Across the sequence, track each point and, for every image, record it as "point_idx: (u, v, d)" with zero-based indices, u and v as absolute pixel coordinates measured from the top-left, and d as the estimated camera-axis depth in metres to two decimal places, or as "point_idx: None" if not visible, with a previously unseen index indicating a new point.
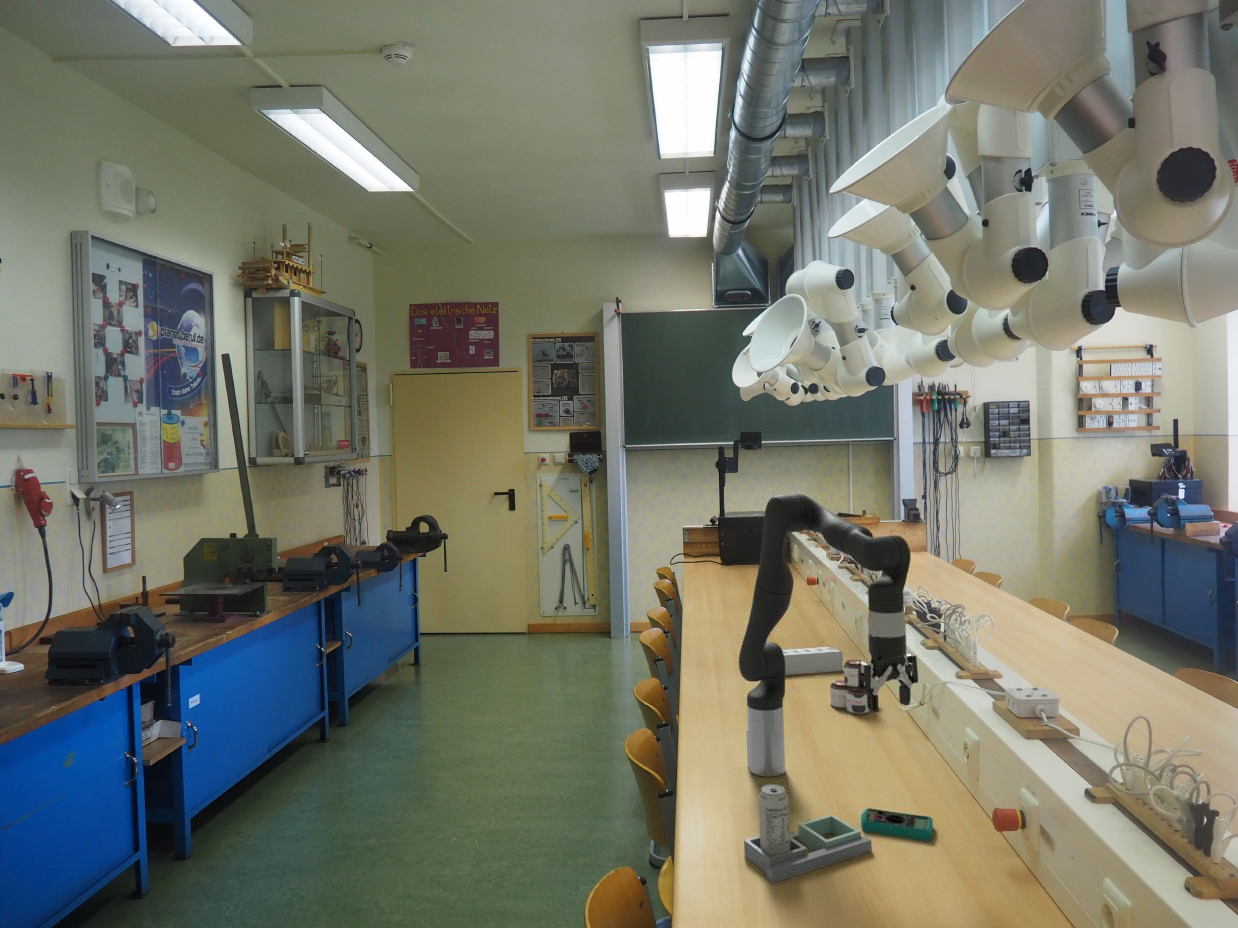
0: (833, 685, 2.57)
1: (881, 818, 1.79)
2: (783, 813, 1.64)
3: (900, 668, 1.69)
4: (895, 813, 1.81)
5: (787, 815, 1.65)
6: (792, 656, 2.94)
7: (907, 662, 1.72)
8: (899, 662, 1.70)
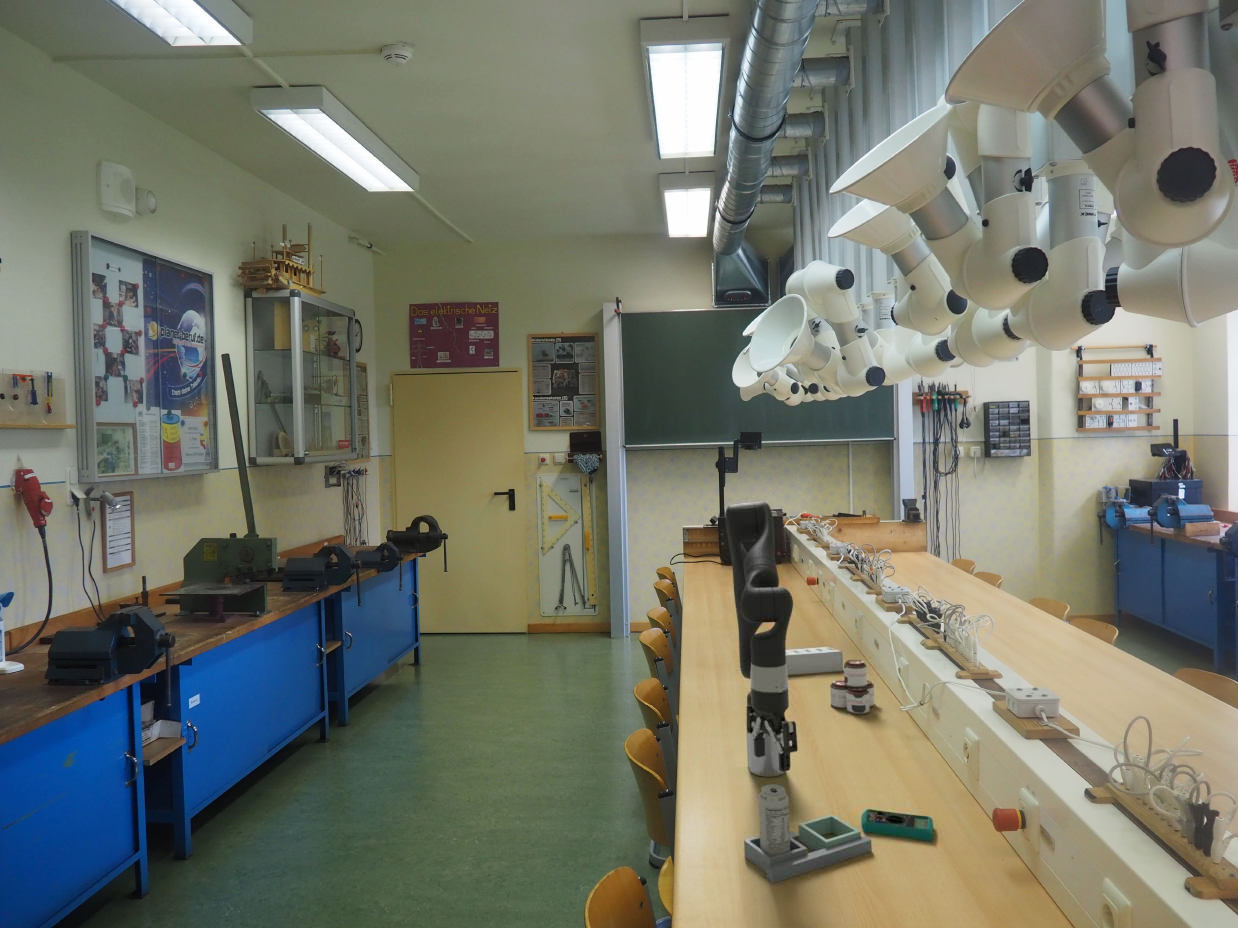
0: (833, 685, 2.57)
1: (881, 819, 1.78)
2: (783, 813, 1.64)
3: None
4: (895, 813, 1.81)
5: (787, 815, 1.65)
6: (792, 656, 2.94)
7: None
8: None
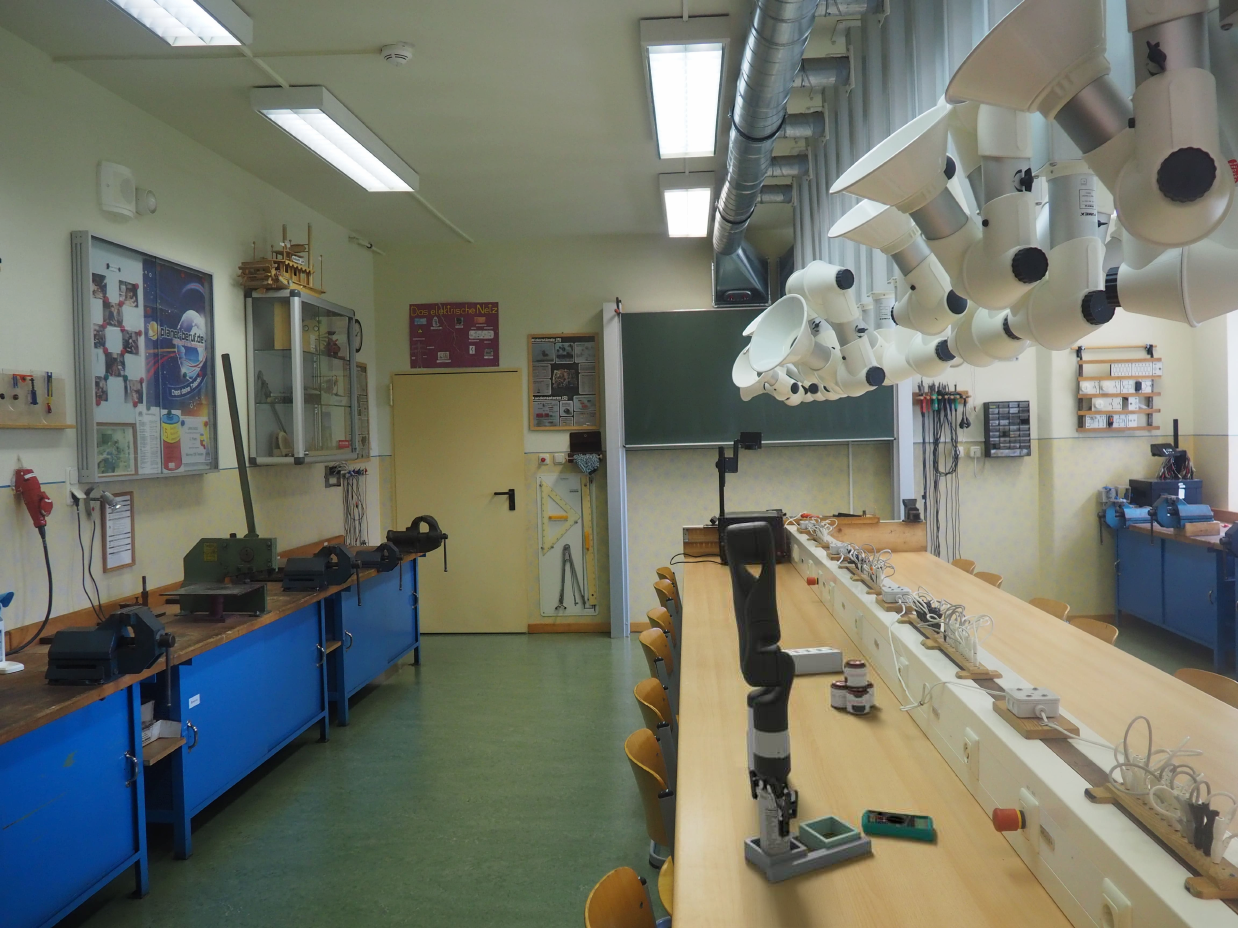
0: (833, 685, 2.57)
1: (882, 819, 1.78)
2: None
3: None
4: (895, 814, 1.80)
5: None
6: (792, 656, 2.94)
7: None
8: None
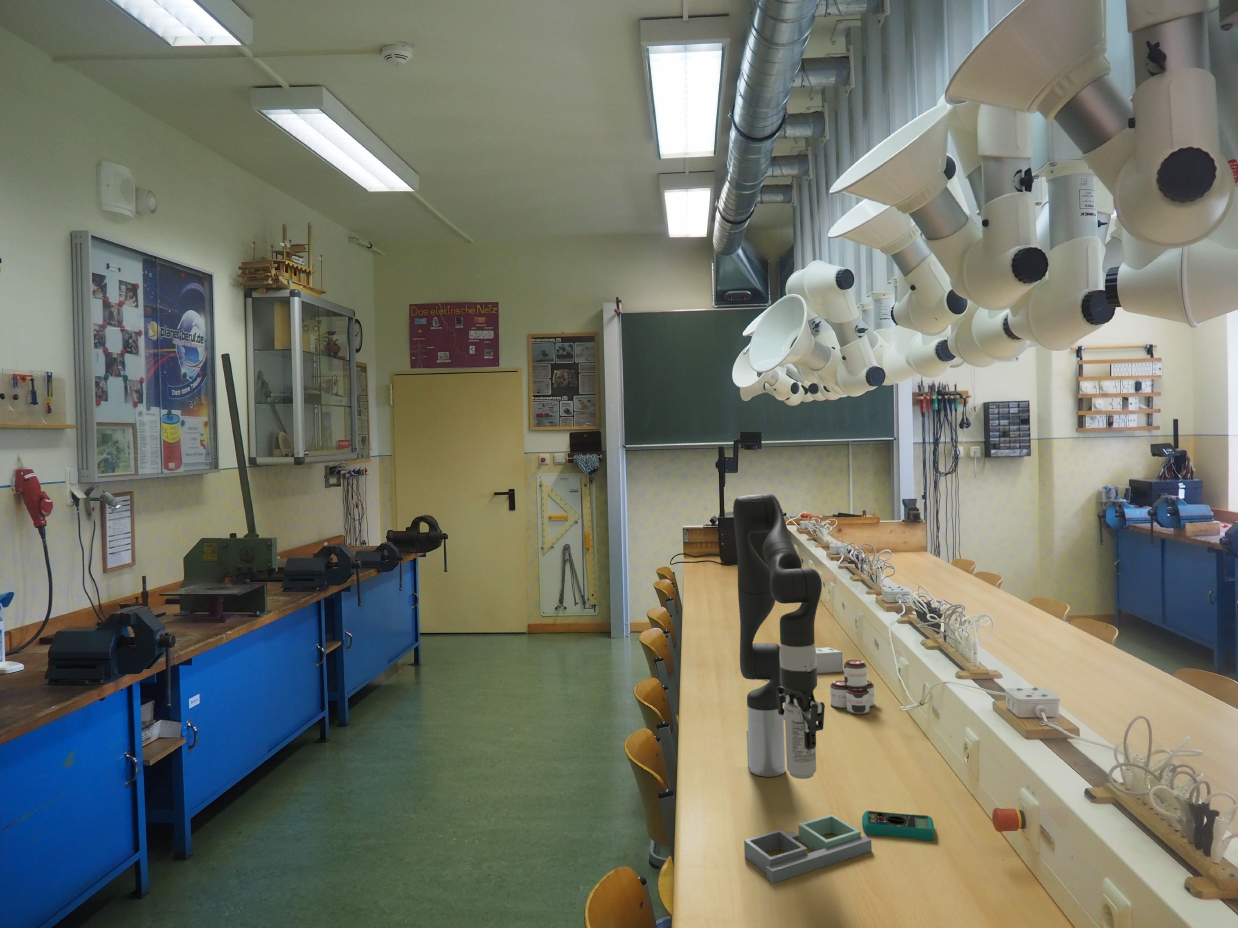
0: (833, 685, 2.57)
1: (882, 820, 1.78)
2: None
3: None
4: (894, 814, 1.80)
5: None
6: None
7: None
8: None
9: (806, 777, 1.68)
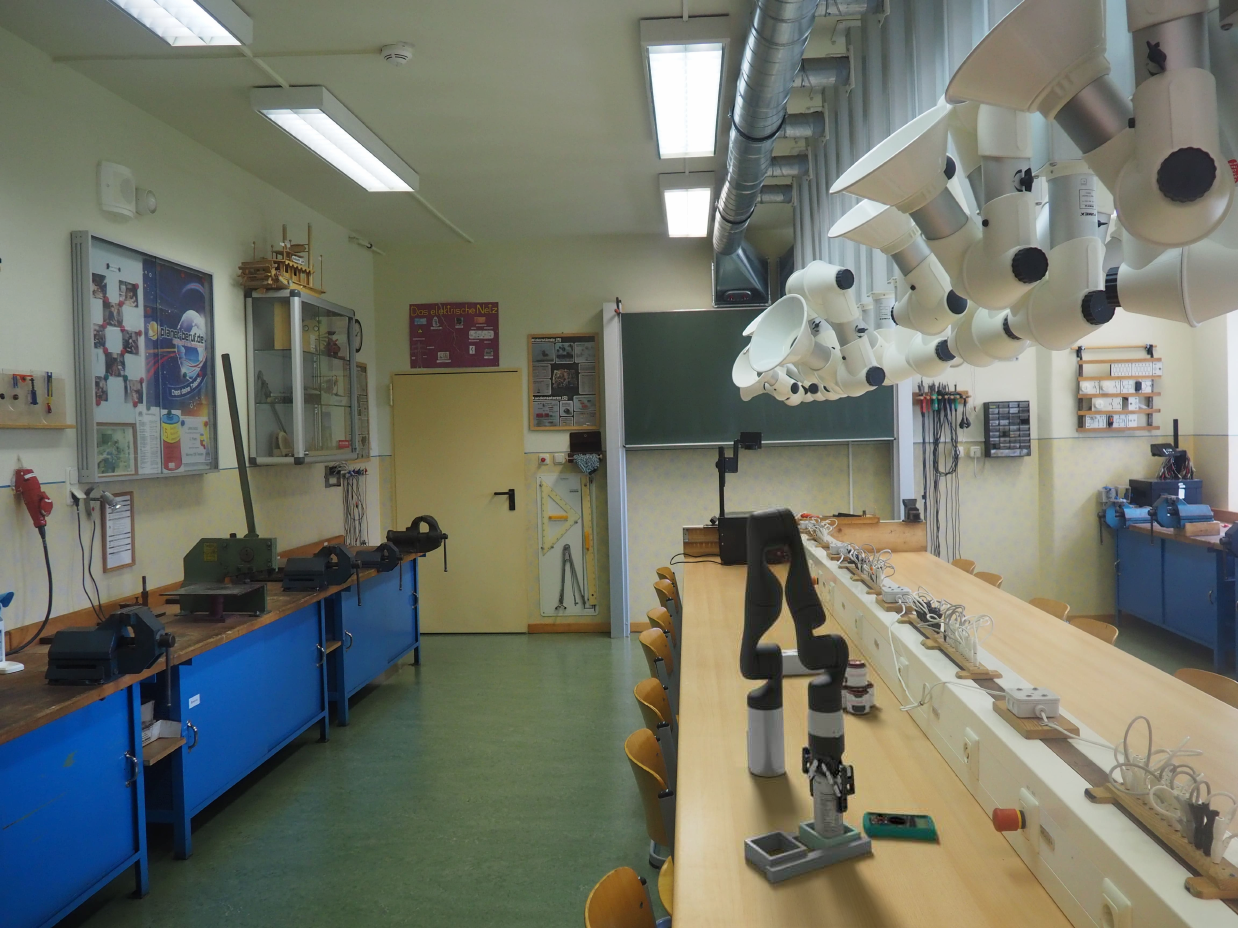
0: None
1: (883, 821, 1.77)
2: None
3: None
4: (894, 814, 1.80)
5: None
6: (791, 656, 2.94)
7: None
8: None
9: None
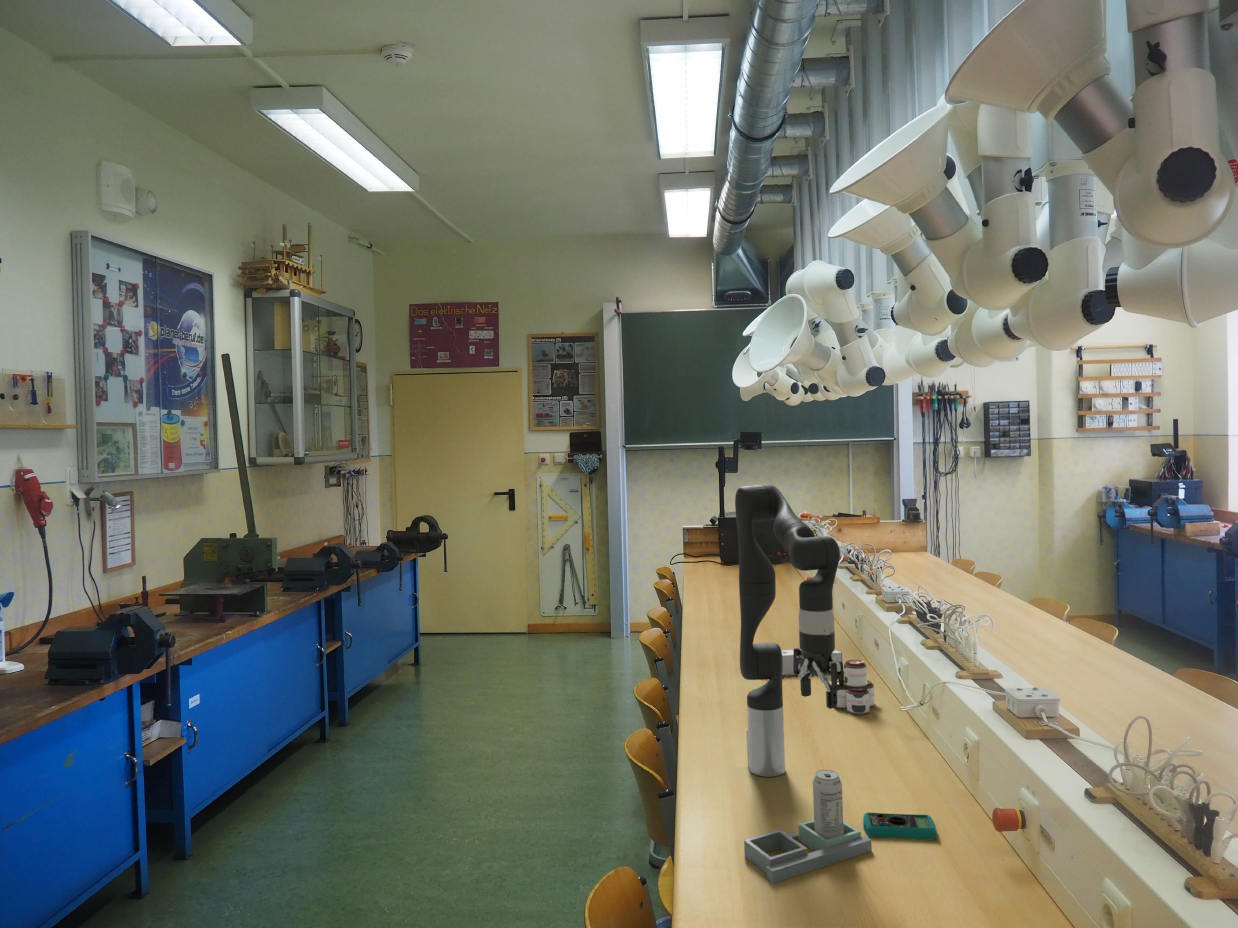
0: None
1: (884, 821, 1.77)
2: (837, 797, 1.70)
3: None
4: (894, 815, 1.80)
5: (841, 799, 1.71)
6: (791, 656, 2.94)
7: None
8: None
9: None
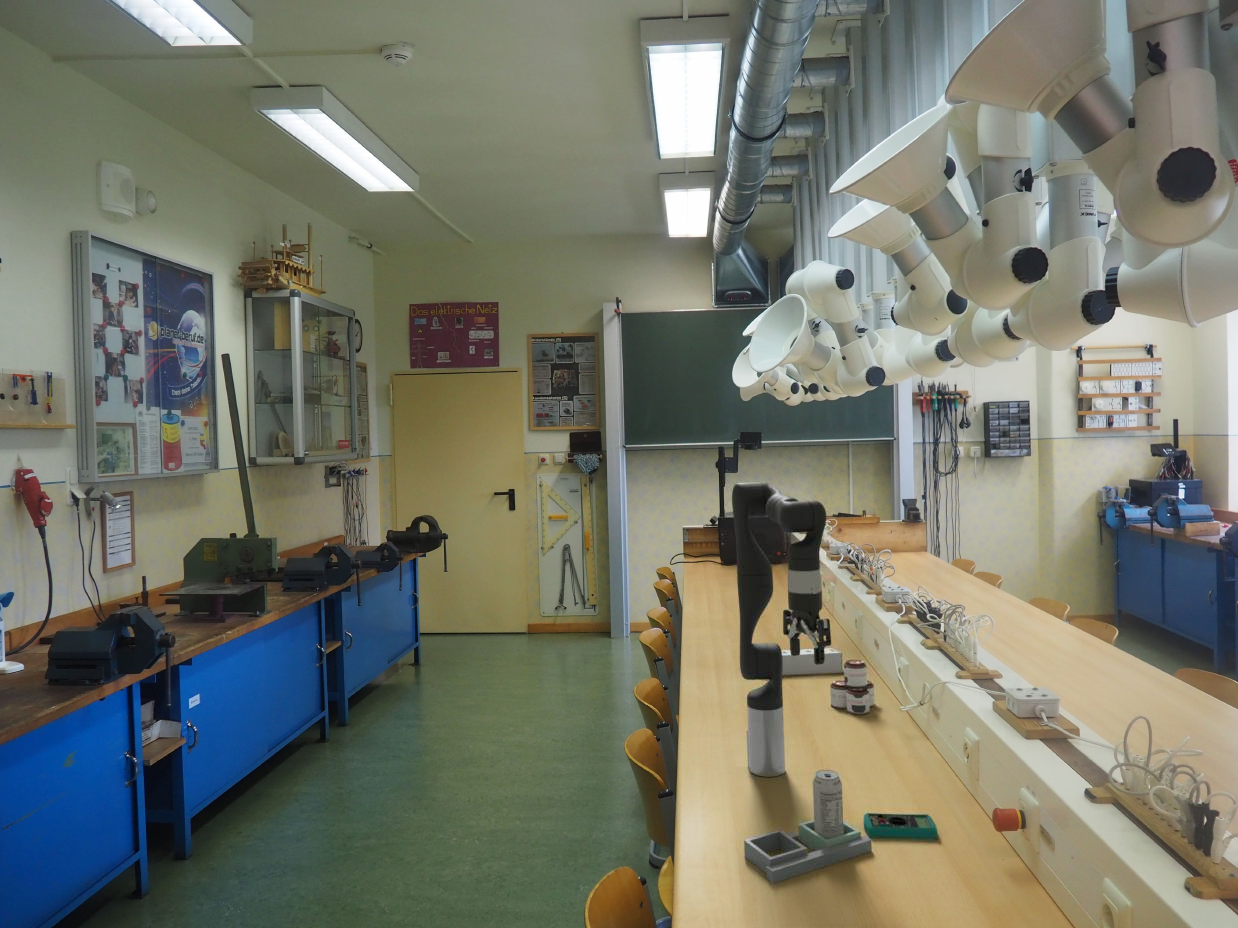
0: (833, 685, 2.57)
1: (885, 822, 1.77)
2: (837, 797, 1.70)
3: None
4: (894, 815, 1.80)
5: (841, 799, 1.71)
6: (790, 656, 2.94)
7: None
8: None
9: None
